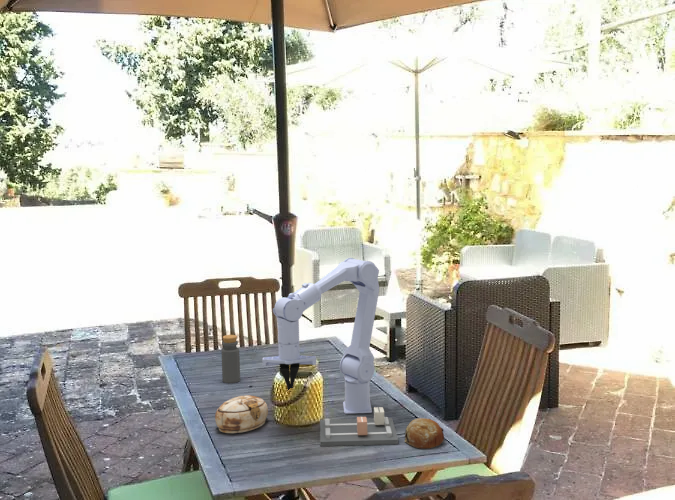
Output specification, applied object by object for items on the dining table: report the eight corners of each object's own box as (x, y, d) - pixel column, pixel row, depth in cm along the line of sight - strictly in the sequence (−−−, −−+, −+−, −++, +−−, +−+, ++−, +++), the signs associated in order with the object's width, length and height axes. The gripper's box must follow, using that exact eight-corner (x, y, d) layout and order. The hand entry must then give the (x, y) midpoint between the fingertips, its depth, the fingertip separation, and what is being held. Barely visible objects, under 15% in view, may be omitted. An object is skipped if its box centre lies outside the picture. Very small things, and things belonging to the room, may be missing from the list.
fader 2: (373, 419, 211) (373, 407, 210) (383, 419, 211) (382, 406, 210) (375, 425, 207) (374, 412, 206) (384, 424, 207) (384, 411, 206)
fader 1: (356, 429, 204) (356, 416, 203) (366, 429, 204) (366, 416, 203) (357, 435, 200) (357, 421, 199) (367, 435, 200) (367, 421, 199)
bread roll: (404, 449, 203) (392, 425, 201) (435, 428, 206) (424, 404, 204) (421, 463, 194) (409, 438, 192) (454, 441, 197) (442, 416, 195)
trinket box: (211, 434, 207) (210, 406, 206) (225, 415, 222) (224, 389, 220) (260, 436, 205) (259, 407, 204) (271, 416, 220) (270, 390, 219)
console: (320, 423, 213) (319, 416, 213) (392, 421, 214) (391, 414, 213) (320, 446, 197) (320, 438, 197) (398, 444, 198) (398, 435, 197)
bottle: (238, 383, 251) (237, 338, 249) (221, 383, 251) (219, 338, 249) (241, 377, 257) (240, 334, 255) (224, 378, 257) (222, 334, 255)
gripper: (260, 346, 204) (262, 395, 206) (315, 345, 204) (316, 394, 206) (262, 339, 211) (264, 387, 213) (315, 338, 211) (316, 386, 213)
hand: (290, 390), depth 210 cm, fingers closed
